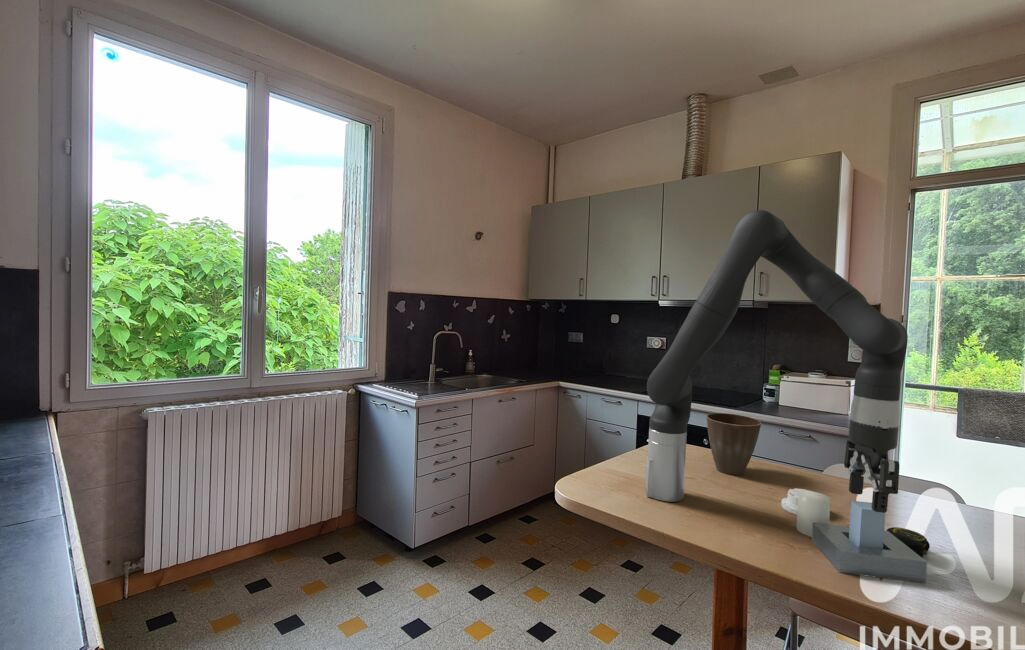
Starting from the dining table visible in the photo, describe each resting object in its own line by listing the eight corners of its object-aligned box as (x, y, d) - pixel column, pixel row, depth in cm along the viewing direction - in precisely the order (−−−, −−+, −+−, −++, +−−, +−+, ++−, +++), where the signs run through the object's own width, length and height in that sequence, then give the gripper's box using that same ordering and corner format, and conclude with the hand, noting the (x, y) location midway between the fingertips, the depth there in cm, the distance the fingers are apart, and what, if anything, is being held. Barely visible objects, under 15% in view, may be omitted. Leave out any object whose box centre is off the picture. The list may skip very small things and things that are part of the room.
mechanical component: (790, 517, 111) (836, 522, 109) (791, 499, 111) (838, 504, 109) (775, 500, 121) (818, 505, 119) (776, 483, 121) (819, 488, 119)
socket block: (839, 572, 87) (840, 551, 87) (811, 541, 99) (812, 522, 99) (925, 583, 85) (927, 561, 85) (886, 550, 96) (888, 531, 96)
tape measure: (879, 548, 98) (880, 530, 97) (892, 540, 101) (893, 523, 101) (921, 564, 92) (922, 545, 92) (933, 554, 96) (934, 536, 95)
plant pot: (764, 471, 142) (766, 419, 142) (750, 484, 131) (753, 428, 130) (713, 459, 152) (715, 410, 151) (696, 470, 141) (699, 418, 140)
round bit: (802, 536, 101) (804, 499, 101) (792, 523, 107) (794, 489, 107) (833, 539, 100) (835, 503, 100) (821, 527, 106) (823, 492, 106)
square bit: (858, 564, 90) (861, 508, 90) (847, 554, 94) (851, 500, 94) (881, 567, 90) (885, 511, 89) (870, 556, 94) (873, 502, 93)
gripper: (834, 410, 98) (828, 486, 99) (872, 428, 84) (864, 515, 85) (875, 413, 97) (868, 490, 98) (920, 432, 83) (911, 521, 84)
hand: (866, 502), depth 92 cm, fingers open, 8 cm apart
